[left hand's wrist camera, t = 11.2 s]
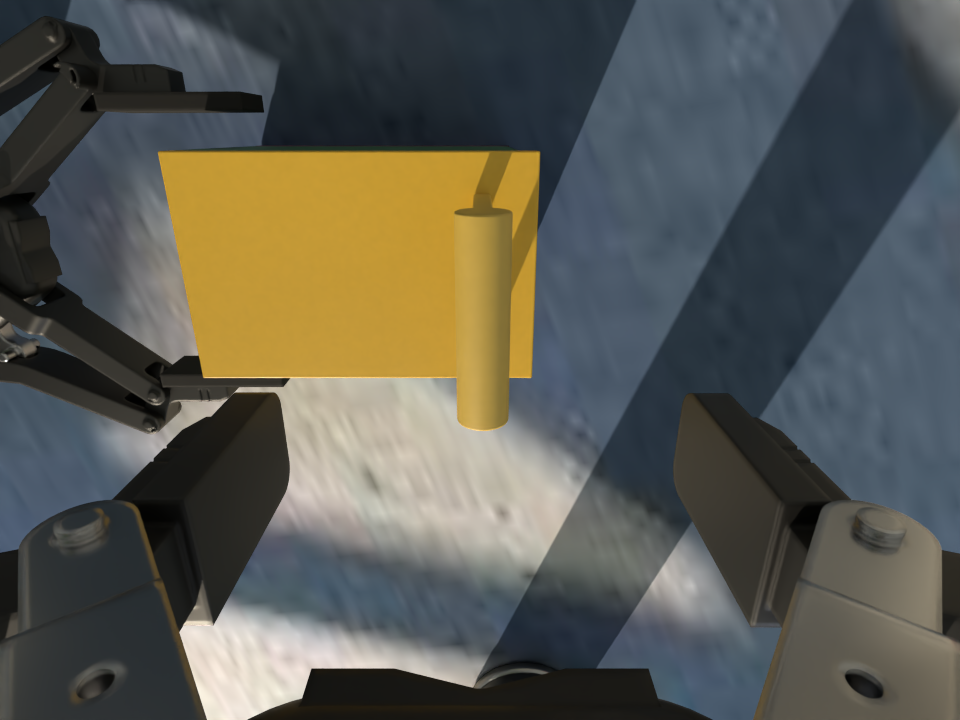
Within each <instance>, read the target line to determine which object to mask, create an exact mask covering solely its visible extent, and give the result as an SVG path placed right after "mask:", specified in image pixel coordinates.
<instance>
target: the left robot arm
mask: <svg viewBox="0 0 960 720" xmlns="http://www.w3.org/2000/svg"><path fill="white" fill-rule="evenodd" d="M289 473H290V464H289V456H288V449H287V442H286V436H285V429H284V422H283V415H282V409H281V403H280V400H279V397H278V396H277V394H276V393H234V394H233V395H231V397H230V398H229V399H228V400H227V401H226V402H225V403H224V404H223V405H222V406H221V407H220V408H219V409H218V410H217V411H216V412H215V413H214V414H213V415H212V416H211V417H205V418H203V419H201V420H200V421H198V422H196V423H194V424H192V425H191V426H189V427H187V428H185V429H183V430H182V431H181V432H180V433H179V434H178V435H177V436H176V437H175V438H174V439H173V440H172V441H171V442H170V443H169V444H168V445H167V448H166V449H163V450H162V451H161V452H160V453H159V454H158V455H157V456H156V457H155V458H154V461H153V462H150V463H149V464H148V465H147V466H146V467H145V468H144V469H143V470H141V471H140V472H139V473H138V474H137V475H136V476H135V477H134V478H133V479H132V480H131V481H130V482H129V483H128V484H127V485H126V486H125V487H124V488H123V489H122V490H121V491H120V492H119V493H118V494H117V495H116V496H115V497H114V498H113V499H112V500H103V501H95V502H90V503H86V504H82V505H79V506H76V507H73V508H70V509H67V510H65V511H63V512H60V513H58V514H56V515H54V516H52V517H50V518H48V519H47V520H45V521H44V522H42V523H40V524H39V525H38V526H36V527H35V528H34V529H32V530H31V531H30V532H29V533H28V534H27V535H26V536H25V538H24V539H23V540H22V542H21V544H20V546H19V549H18V550H13V551H7V552H2V553H0V720H207V719H206V716H205V712H204V709H203V706H202V703H201V700H200V697H199V693H198V690H197V687H196V684H195V681H194V678H193V675H192V671H191V668H190V665H189V662H188V659H187V656H186V652H185V649H184V646H183V643H182V640H181V637H180V634H179V632H180V630H181V628H182V627H183V625H214V623H215V621H216V620H217V618H218V616H219V614H220V612H221V610H222V609H223V607H224V605H225V603H226V601H227V599H228V598H229V596H230V594H231V592H232V590H233V588H234V587H235V585H236V583H237V581H238V579H239V577H240V575H241V574H242V572H243V570H244V568H245V566H246V564H247V563H248V561H249V559H250V557H251V555H252V553H253V552H254V550H255V548H256V546H257V544H258V542H259V541H260V539H261V537H262V535H263V533H264V531H265V529H266V528H267V526H268V524H269V522H270V520H271V518H272V517H273V515H274V513H275V511H276V509H277V507H278V506H279V504H280V502H281V500H282V498H283V496H284V494H285V492H286V490H287V486H288V482H289ZM673 475H674V483H675V487H676V491H677V493H678V496H679V497H680V499H681V501H682V503H683V505H684V507H685V508H686V510H687V512H688V514H689V516H690V517H691V519H692V521H693V523H694V525H695V527H696V528H697V530H698V532H699V534H700V536H701V537H702V539H703V541H704V543H705V545H706V547H707V548H708V550H709V552H710V554H711V556H712V557H713V559H714V561H715V563H716V565H717V566H718V568H719V570H720V572H721V574H722V576H723V577H724V579H725V581H726V583H727V585H728V586H729V588H730V590H731V592H732V594H733V596H734V597H735V599H736V601H737V603H738V605H739V606H740V608H741V610H742V612H743V614H744V616H745V617H746V619H747V621H748V623H749V625H750V626H751V627H782V630H781V634H780V637H779V640H778V643H777V646H776V649H775V652H774V656H773V659H772V662H771V665H770V668H769V671H768V675H767V678H766V681H765V684H764V687H763V690H762V693H761V697H760V700H759V703H758V706H757V709H756V712H755V716H754V719H753V720H960V554H959V553H954V552H948V551H944V550H941V546H940V544H939V542H938V540H937V539H936V538H935V536H934V535H933V534H932V533H931V532H930V531H929V530H928V529H926V528H925V527H924V526H922V525H921V524H920V523H918V522H916V521H915V520H913V519H912V518H910V517H908V516H906V515H904V514H902V513H900V512H897V511H895V510H893V509H890V508H887V507H884V506H881V505H878V504H874V503H870V502H865V501H857V500H851V499H850V498H849V497H848V496H847V495H846V494H845V493H844V492H843V491H842V490H841V489H840V488H839V487H838V486H837V485H836V484H835V483H834V482H833V481H832V480H831V479H830V478H829V477H828V476H827V475H826V474H825V473H824V472H823V471H822V470H821V469H820V468H819V467H818V466H816V465H815V464H814V463H811V462H810V459H809V458H808V457H807V456H806V455H805V454H804V453H803V452H802V451H801V450H797V446H796V445H795V444H794V443H793V442H792V441H791V440H790V439H789V438H788V437H787V436H786V435H785V434H784V433H783V432H782V431H780V430H779V429H777V428H775V427H773V426H771V425H769V424H768V423H766V422H764V421H762V420H760V419H759V418H752V417H751V416H750V415H749V414H748V413H747V411H746V410H745V409H744V408H743V407H742V406H741V405H740V404H739V403H738V402H737V401H736V400H735V399H734V398H733V397H732V396H731V395H730V394H728V393H689V394H687V395H686V397H685V398H684V401H683V404H682V410H681V416H680V423H679V430H678V436H677V443H676V450H675V456H674V464H673ZM248 720H712V719H710V718H708V717H706V716H704V715H702V714H699V713H697V712H695V711H693V710H691V709H688V708H686V707H683V706H680V705H677V704H674V703H672V702H669V701H665V700H661V699H658V698H657V694H656V691H655V688H654V685H653V682H652V679H651V675H650V672H649V669H562V670H558V671H556V670H554V669H552V668H549V667H547V666H544V665H540V664H534V663H514V664H508V665H504V666H501V667H498V668H496V669H494V670H492V671H490V672H488V673H487V674H485V675H484V676H483V677H482V678H481V679H480V680H479V681H478V682H477V683H476V684H475V686H474V688H471V687H467V686H463V685H459V684H455V683H451V682H447V681H442V680H438V679H434V678H430V677H426V676H422V675H418V674H414V673H410V672H406V671H402V670H398V669H311V672H310V675H309V679H308V682H307V685H306V688H305V691H304V694H303V698H302V699H299V700H295V701H291V702H288V703H286V704H283V705H280V706H277V707H274V708H272V709H269V710H267V711H265V712H263V713H261V714H258V715H256V716H254V717H252V718H250V719H248Z"/></svg>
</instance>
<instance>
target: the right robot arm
mask: <svg viewBox="0 0 960 720" xmlns="http://www.w3.org/2000/svg"><path fill="white" fill-rule="evenodd" d="M99 47H100V42H99V38H98V36H97V34H96V33H95V32H94V31H93V30H92V29H90V28H89V27H86V26H82V25H79V24H75V23H71V22H68V21H64V20H60V19H57V18H53V17H48V16H44V17H41V18H39V19H38V20H36V21H35V22H33V23H32V24H31V25H29V26H28V27H26V28H25V29H23V30H22V31H20V32H19V33H17V34H16V35H14V36H13V37H12V38H10V39H9V40H7V41H6V42H4V43H3V44H1V45H0V116H1V115H3V114H4V113H6V112H7V111H9V110H10V109H12V108H13V107H15V106H16V105H18V104H19V103H21V102H23V101H24V100H26V99H27V98H29V97H30V96H32V95H33V94H35V93H36V92H38V91H39V90H41V89H42V88H44V87H45V86H47V85H49V84H50V83H52V82H53V83H52V84H51V85H50V86H49V88H48V89H47V90H46V91H45V93H44V94H43V95H42V96H41V98H40V99H39V100H38V101H37V103H36V104H35V105H34V106H33V108H32V109H31V110H30V111H29V113H28V114H27V115H26V116H25V118H24V119H23V120H22V121H21V123H20V124H19V125H18V126H17V128H16V129H15V130H14V131H13V133H12V134H11V135H10V136H9V138H8V139H7V140H6V142H5V143H4V144H3V145H2V147H1V148H0V382H8V383H18V384H22V385H25V386H27V387H30V388H32V389H35V390H37V391H40V392H43V393H45V394H48V395H50V396H53V397H55V398H58V399H60V400H63V401H66V402H68V403H71V404H73V405H76V406H78V407H81V408H83V409H86V410H89V411H91V412H94V413H96V414H99V415H101V416H104V417H106V418H109V419H112V420H114V421H117V422H119V423H122V424H124V425H127V426H129V427H132V428H134V429H137V430H140V431H142V432H145V433H148V434H155V433H157V432H158V431H160V430H161V429H162V428H163V427H164V426H165V425H166V424H167V423H168V422H169V421H170V420H171V419H173V418H174V417H175V416H176V415H177V414H178V413H179V412H180V410H181V403H180V402H179V401H222V400H225V399H227V398H229V397H230V396H231V395H232V394H233V393H234V392H235V391H236V390H237V389H238V388H239V387H284V385H285V384H286V383H287V382H288V380H289V379H290V378H204V377H203V373H202V368H201V363H200V358H199V356H184V357H182V358H181V359H180V360H178V361H177V362H176V363H174V364H173V365H172V364H171V363H169V362H168V361H166V360H165V359H163V358H162V357H160V356H159V355H157V354H156V353H154V352H153V351H151V350H150V349H148V348H147V347H145V346H144V345H142V344H141V343H139V342H137V341H136V340H134V339H133V338H131V337H130V336H128V335H127V334H125V333H124V332H122V331H121V330H119V329H118V328H116V327H115V326H113V325H112V324H110V323H109V322H107V321H106V320H104V319H103V318H101V317H100V316H98V315H97V314H95V313H94V312H92V311H91V310H89V309H88V308H86V307H85V306H84V305H83V304H82V299H81V298H80V297H79V296H78V295H76V294H75V293H73V292H72V291H70V290H69V289H67V288H66V287H64V286H63V285H61V284H60V283H58V282H57V276H59V275H62V272H61V268H60V265H59V261H58V259H57V257H56V255H55V254H54V252H53V250H52V248H51V246H50V230H49V226H48V223H47V219H46V216H40V215H39V213H38V212H37V210H36V209H35V208H34V207H33V206H32V205H33V204H34V203H35V202H36V200H37V199H38V198H39V197H40V196H41V195H42V193H43V192H44V191H45V190H46V189H47V187H48V186H49V185H50V182H49V181H48V179H49V178H50V177H51V175H52V174H53V173H54V172H55V171H56V169H57V168H58V167H59V166H60V165H61V163H62V162H63V161H64V160H65V159H66V158H67V156H68V155H69V154H70V153H71V152H72V150H73V149H74V148H75V147H76V146H77V144H78V143H79V142H80V141H81V140H82V139H83V137H84V136H85V135H86V134H87V133H88V131H89V130H90V129H91V128H92V127H93V126H94V124H95V123H96V122H97V121H98V120H99V118H100V117H101V116H102V115H103V114H104V112H105V111H109V112H125V113H251V112H264V108H263V101H262V96H261V95H256V94H250V93H244V92H186V91H185V85H184V80H183V74H182V72H180V71H177V70H175V69H172V68H169V67H164V66H160V65H155V64H143V65H141V64H134V65H132V64H121V65H111V64H109V63H108V62H107V61H106V60H105V59H104V57H103V56H102V54H101V52H100V50H99ZM41 300H42V301H44V302H45V303H46V304H44V305H41V306H36V305H37V304H38V303H39V302H40V301H41ZM12 324H13V325H15V326H16V327H18V328H20V329H21V330H23V331H24V332H26V333H29V334H36V335H42V336H44V337H46V338H47V339H49V340H51V341H52V342H54V343H55V344H57V345H58V346H60V347H62V348H63V349H65V350H66V351H68V352H69V353H71V354H73V355H74V356H76V357H77V358H76V357H74V356H71V355H69V354H66V353H64V352H61V351H58V350H55V349H51V348H46V347H40V342H39V341H38V340H37V339H35V338H32V339H27V338H24V337H21V336H20V335H18V334H17V333H16V332H15V331H14V329H13V326H12ZM78 358H79V359H78Z"/></svg>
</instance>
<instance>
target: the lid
mask: <svg viewBox="0 0 960 720" xmlns="http://www.w3.org/2000/svg"><path fill="white" fill-rule="evenodd" d="M158 155H159V160H160V165H161V170H162V175H163V180H164V184H165V189H166V194H167V199H168V204H169V209H170V214H171V219H172V224H173V229H174V234H175V239H176V244H177V249H178V254H179V259H180V264H181V269H182V274H183V279H184V284H185V289H186V294H187V299H188V304H189V309H190V314H191V319H192V324H193V328H194V333H195V338H196V343H197V348H198V353H199V358H200V363H201V368H202V373H203V377H204V378H457V419H458V421H459V423H460V424H461V425H462V426H464V427H466V428H468V429H472V430H478V431H488V430H494V429H498V428H500V427H502V426H504V425H505V424H506V423H507V421H508V411H509V378H531V377H532V358H533V332H534V305H535V279H536V252H537V226H538V199H539V173H540V151H159V152H158Z"/></svg>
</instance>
